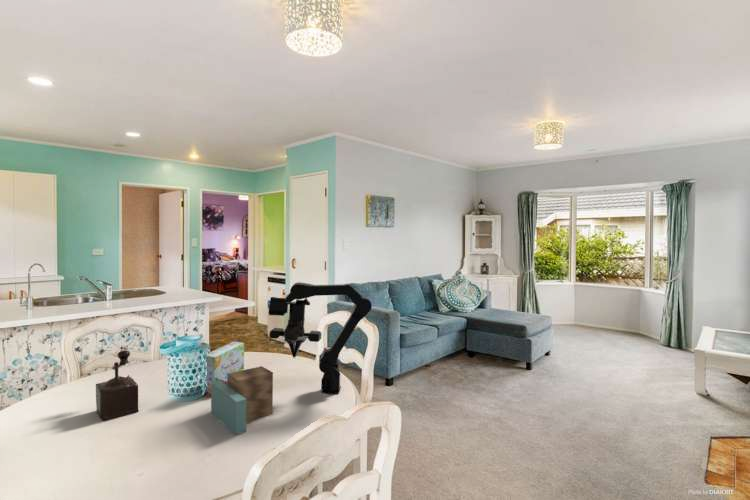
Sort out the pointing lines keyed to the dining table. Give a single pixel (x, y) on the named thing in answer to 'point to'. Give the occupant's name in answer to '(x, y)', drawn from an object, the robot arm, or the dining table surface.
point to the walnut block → (254, 390)
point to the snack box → (224, 363)
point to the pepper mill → (117, 393)
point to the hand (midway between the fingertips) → (294, 357)
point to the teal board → (228, 407)
